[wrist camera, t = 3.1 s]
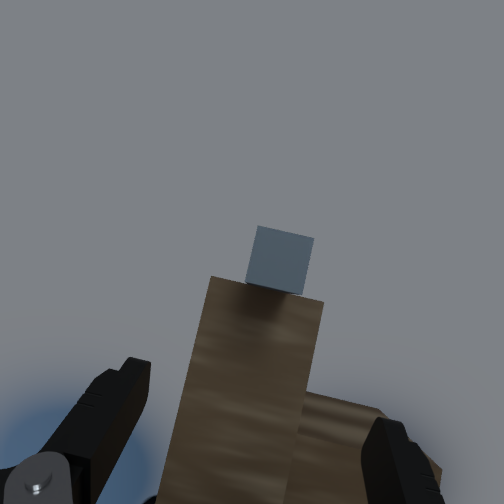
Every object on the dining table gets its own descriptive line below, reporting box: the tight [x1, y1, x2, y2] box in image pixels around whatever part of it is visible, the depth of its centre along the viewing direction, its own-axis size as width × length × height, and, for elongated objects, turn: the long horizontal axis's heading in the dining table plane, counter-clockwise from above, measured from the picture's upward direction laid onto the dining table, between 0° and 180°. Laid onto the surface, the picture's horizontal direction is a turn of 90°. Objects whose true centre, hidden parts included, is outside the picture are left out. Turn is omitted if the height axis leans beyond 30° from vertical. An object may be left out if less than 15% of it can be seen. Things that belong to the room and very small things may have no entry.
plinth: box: [155, 276, 442, 504], centre depth 34 cm, size 14×22×32 cm, turn 89°
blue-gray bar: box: [245, 226, 314, 295], centre depth 32 cm, size 23×4×4 cm, turn 179°
